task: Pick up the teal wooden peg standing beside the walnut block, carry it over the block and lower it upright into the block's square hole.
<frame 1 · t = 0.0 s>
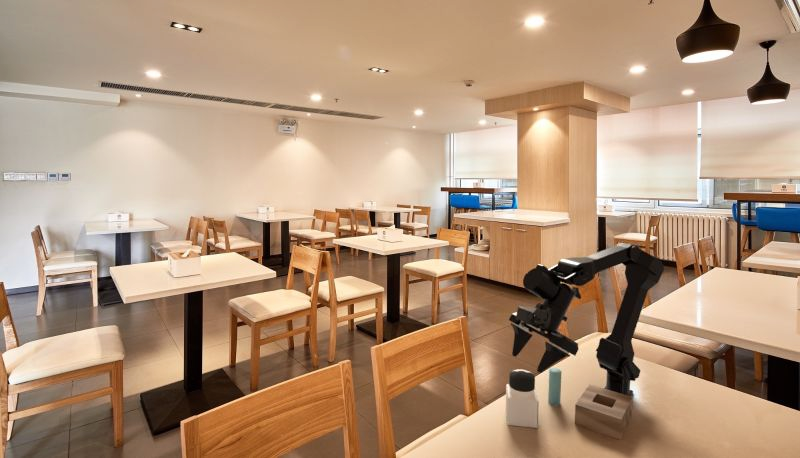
hand: (525, 363, 98), 15 cm above the table, tool tilted 35°, fingers open, 9 cm apart
socket block: (603, 419, 100), on the table
peg: (554, 402, 108), on the table
medicine bottle: (521, 419, 101), on the table
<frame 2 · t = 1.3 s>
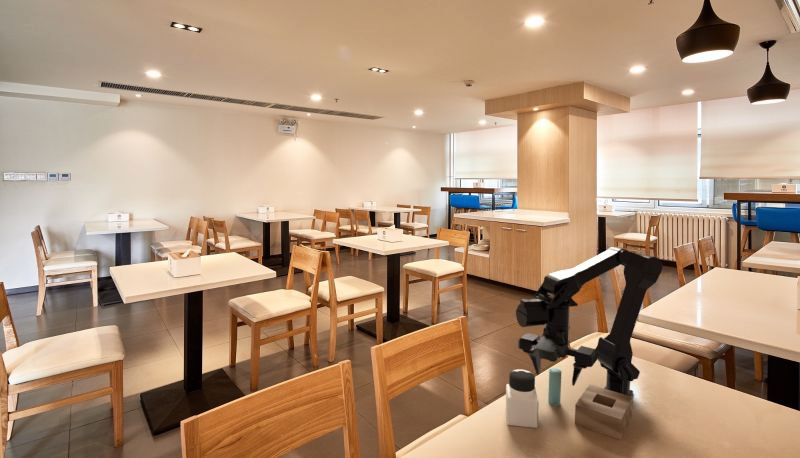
hand: (555, 379, 107), 7 cm above the table, tool pointing down, fingers open, 9 cm apart
nothing on the table moved.
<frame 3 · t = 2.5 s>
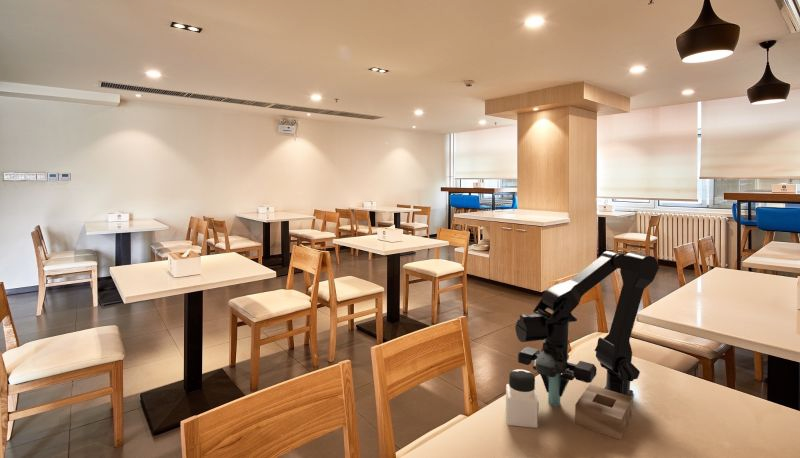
hand: (554, 393, 107), 3 cm above the table, tool pointing down, fingers closed on peg, 3 cm apart
peg: (554, 402, 108), on the table, touching gripper
everything else where it was.
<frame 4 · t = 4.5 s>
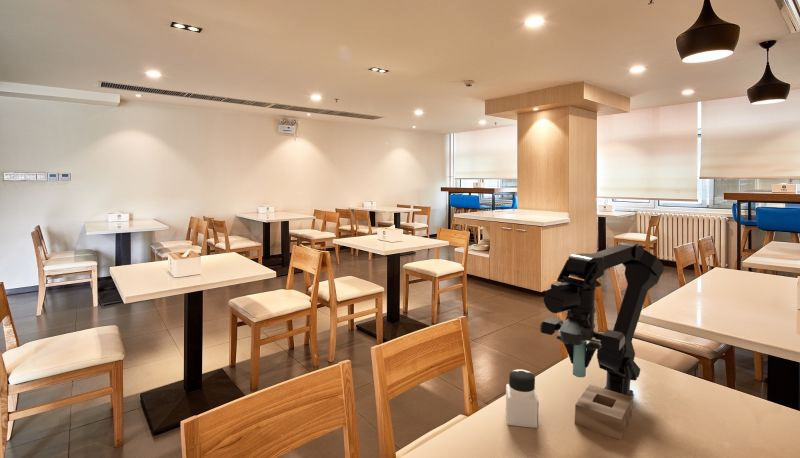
hand: (579, 365, 102), 12 cm above the table, tool pointing down, fingers closed on peg, 3 cm apart
peg: (579, 374, 103), point 10 cm above the table, touching gripper
everything else where it was.
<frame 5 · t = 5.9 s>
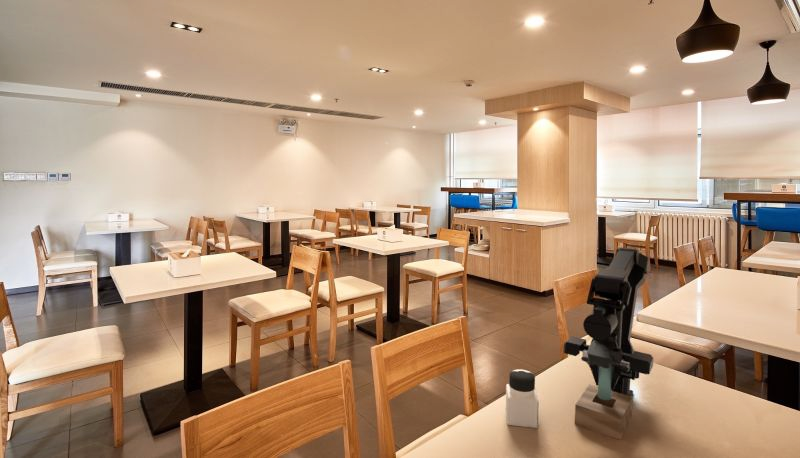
hand: (605, 387, 99), 8 cm above the table, tool pointing down, fingers closed on peg, 3 cm apart
peg: (604, 396, 99), point 6 cm above the table, touching gripper
everything else where it was.
when the fingers open (7 cm above the table, at t = 6.6 s): peg drops 4 cm, resting in socket block.
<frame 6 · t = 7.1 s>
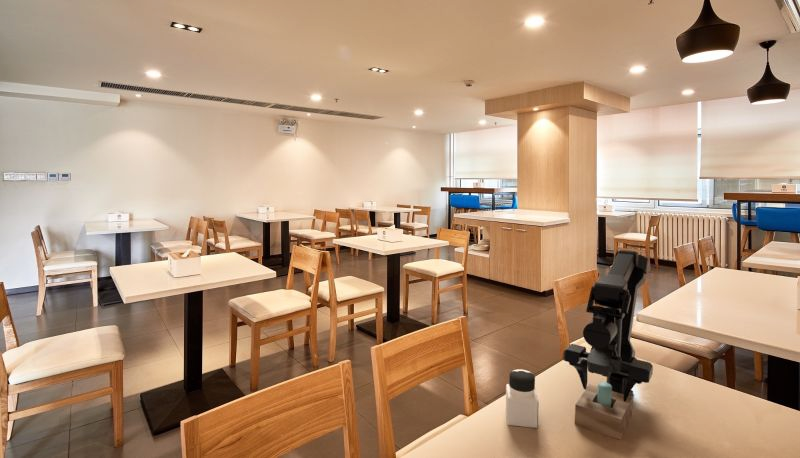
hand: (604, 394, 99), 7 cm above the table, tool pointing down, fingers open, 9 cm apart
peg: (603, 419, 100), resting in socket block
everything else where it was.
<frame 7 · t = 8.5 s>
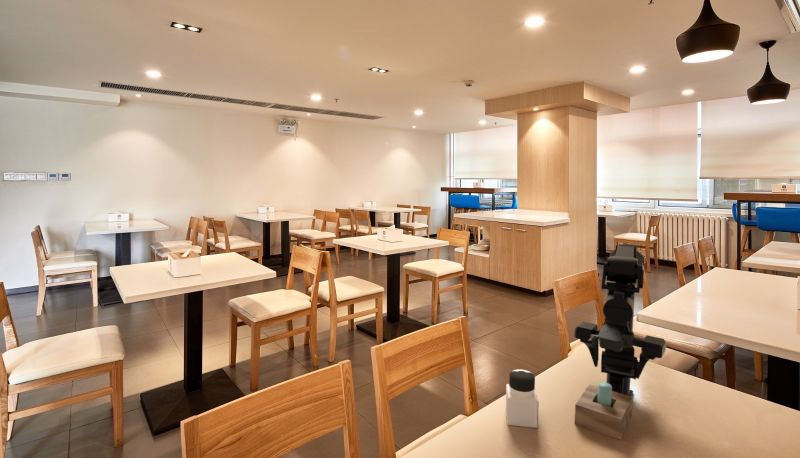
hand: (616, 372, 98), 12 cm above the table, tool pointing down, fingers open, 9 cm apart
nothing on the table moved.
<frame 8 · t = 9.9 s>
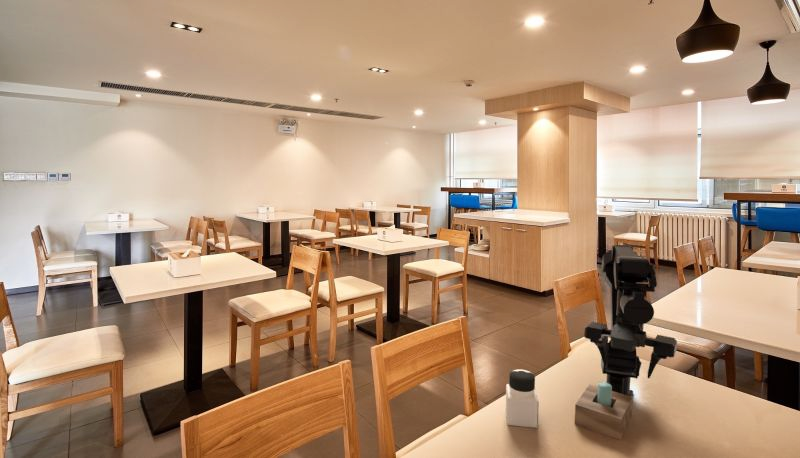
hand: (626, 371, 98), 13 cm above the table, tool pointing down, fingers open, 9 cm apart
nothing on the table moved.
at the end: peg 0.0 cm off-centre on the socket block, point 0.0 cm above the socket block's base; peg tilted 0°; the gripper is holding nothing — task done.
